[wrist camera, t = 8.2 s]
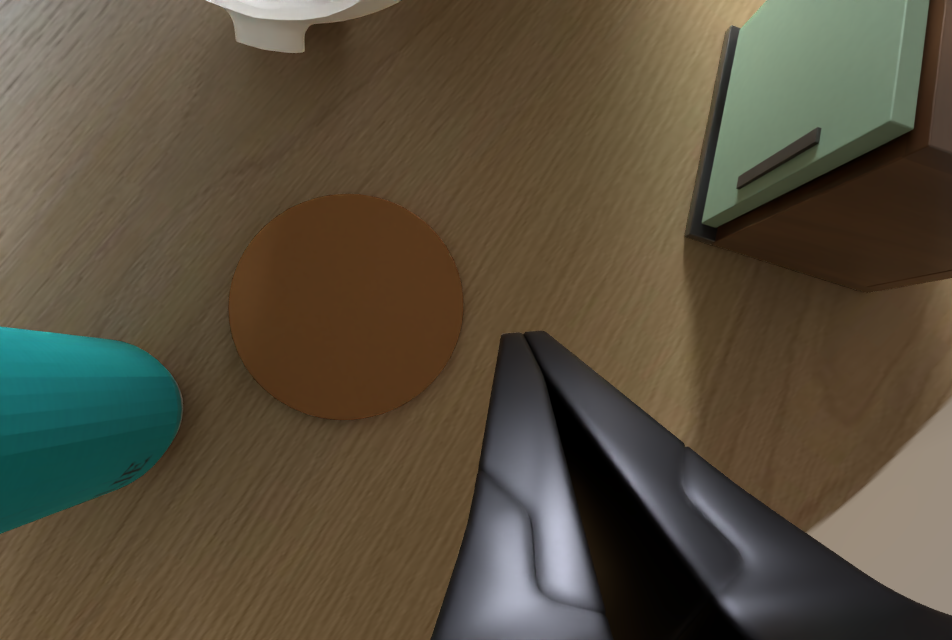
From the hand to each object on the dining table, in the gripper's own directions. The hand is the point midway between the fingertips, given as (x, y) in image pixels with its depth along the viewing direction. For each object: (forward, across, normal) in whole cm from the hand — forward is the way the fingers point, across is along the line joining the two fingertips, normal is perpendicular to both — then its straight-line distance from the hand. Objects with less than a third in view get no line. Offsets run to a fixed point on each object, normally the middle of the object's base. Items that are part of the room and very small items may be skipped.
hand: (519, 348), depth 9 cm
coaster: (+11, +5, +6) cm, 13 cm away
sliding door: (+16, -14, 0) cm, 21 cm away
